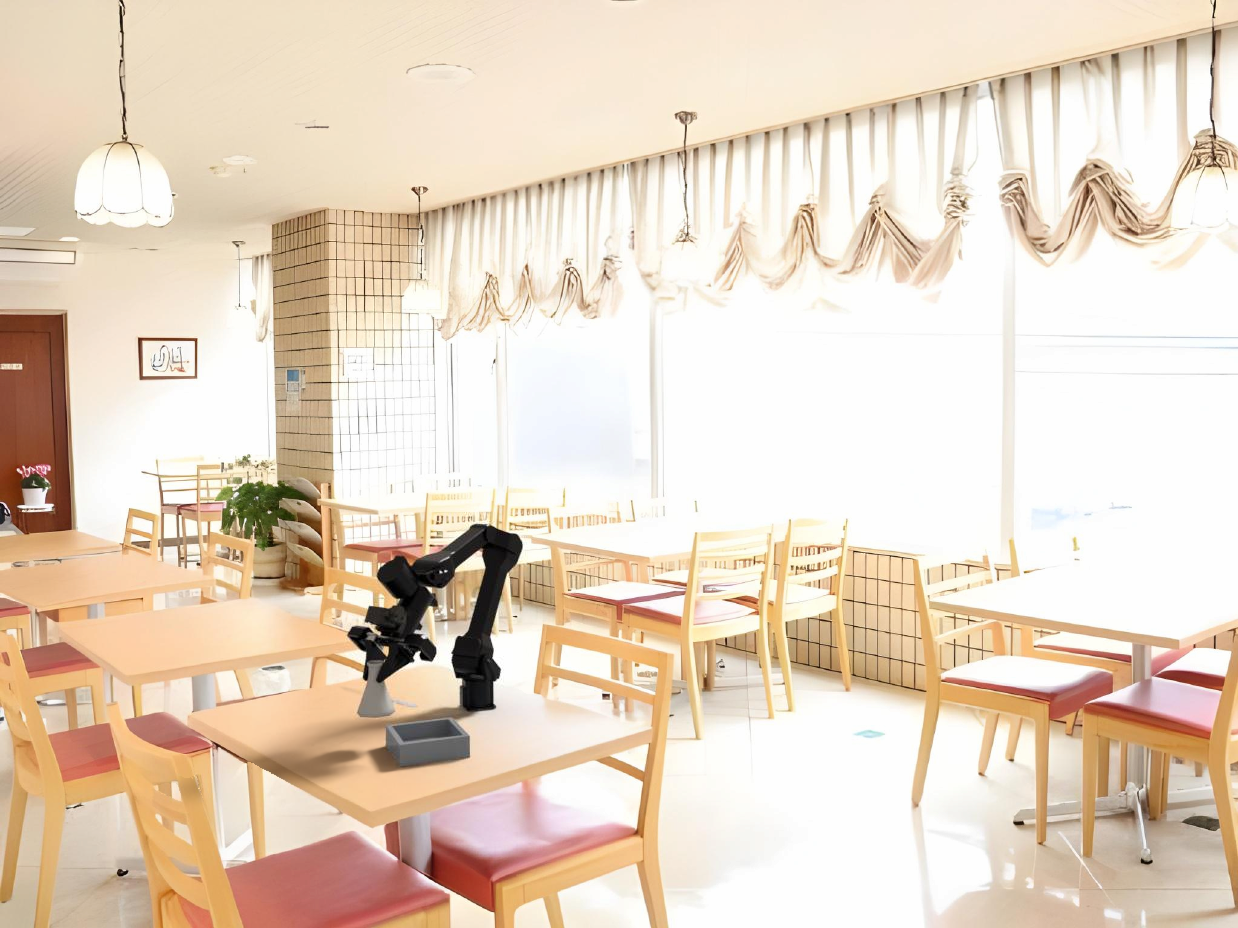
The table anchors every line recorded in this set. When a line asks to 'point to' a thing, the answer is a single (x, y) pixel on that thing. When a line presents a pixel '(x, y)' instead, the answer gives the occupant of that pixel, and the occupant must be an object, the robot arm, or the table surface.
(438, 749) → the tray
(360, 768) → the table surface
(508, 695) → the table surface
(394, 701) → the butter knife
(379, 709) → the flask
